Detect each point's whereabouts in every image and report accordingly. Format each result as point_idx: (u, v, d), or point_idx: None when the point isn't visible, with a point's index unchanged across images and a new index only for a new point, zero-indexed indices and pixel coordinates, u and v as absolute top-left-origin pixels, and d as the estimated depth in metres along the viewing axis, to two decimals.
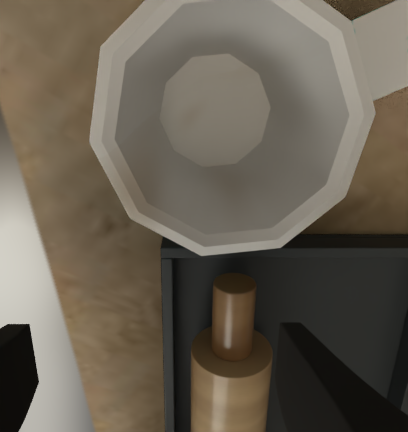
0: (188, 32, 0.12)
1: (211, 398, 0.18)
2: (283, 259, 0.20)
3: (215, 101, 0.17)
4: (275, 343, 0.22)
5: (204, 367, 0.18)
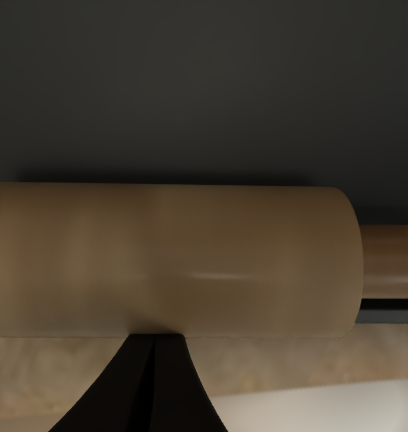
0: None
1: (36, 336, 0.10)
2: None
3: None
4: (53, 110, 0.11)
5: None
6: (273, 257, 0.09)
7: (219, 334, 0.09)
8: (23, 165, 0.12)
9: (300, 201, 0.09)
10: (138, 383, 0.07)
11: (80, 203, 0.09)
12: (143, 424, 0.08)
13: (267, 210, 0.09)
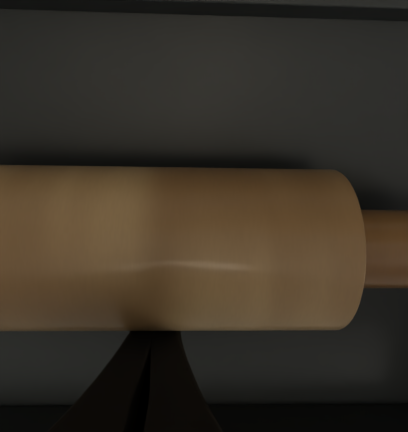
0: None
1: None
2: None
3: None
4: None
5: None
6: None
7: (212, 171, 0.09)
8: None
9: None
10: (137, 383, 0.07)
11: None
12: (142, 424, 0.08)
13: None
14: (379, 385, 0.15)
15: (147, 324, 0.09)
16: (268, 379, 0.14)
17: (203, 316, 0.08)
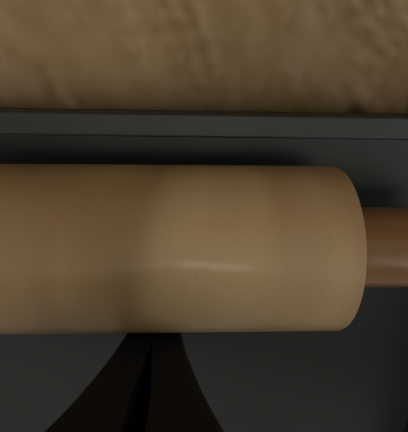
0: None
1: None
2: None
3: None
4: (69, 347, 0.13)
5: None
6: None
7: None
8: (43, 385, 0.14)
9: None
10: (135, 383, 0.07)
11: None
12: (140, 424, 0.08)
13: None
14: None
15: (138, 212, 0.08)
16: None
17: (199, 196, 0.08)
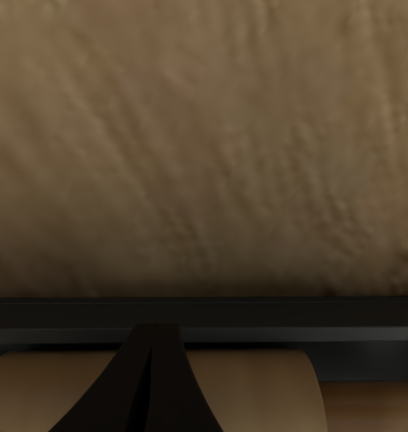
0: None
1: None
2: None
3: None
4: None
5: None
6: None
7: None
8: None
9: None
10: (138, 383, 0.07)
11: None
12: (143, 424, 0.08)
13: None
14: None
15: None
16: None
17: None
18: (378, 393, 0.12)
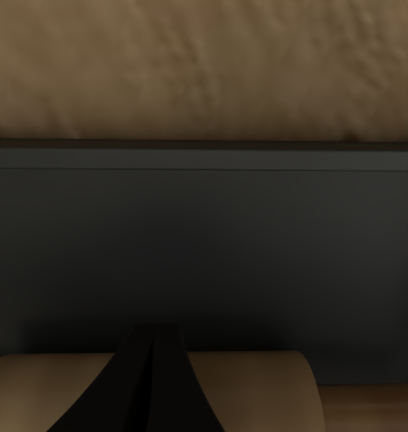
0: None
1: None
2: None
3: None
4: None
5: None
6: (239, 358, 0.12)
7: None
8: None
9: None
10: (136, 383, 0.07)
11: None
12: (141, 424, 0.08)
13: None
14: None
15: None
16: None
17: None
18: None
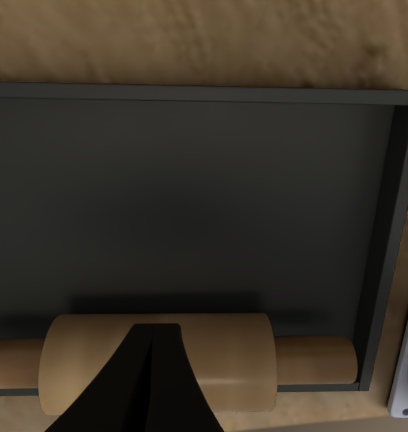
0: None
1: None
2: None
3: None
4: (99, 264, 0.18)
5: None
6: (225, 350, 0.16)
7: None
8: (79, 295, 0.18)
9: (241, 319, 0.17)
10: (135, 383, 0.07)
11: (119, 323, 0.16)
12: (140, 424, 0.08)
13: (222, 324, 0.16)
14: None
15: None
16: None
17: None
18: None
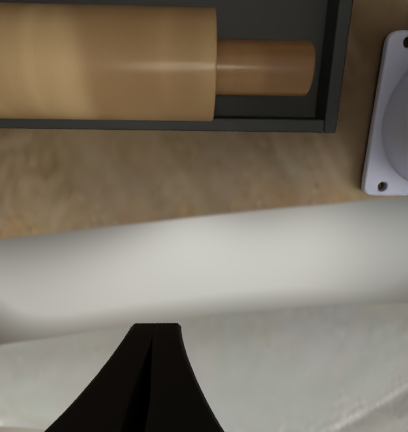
0: None
1: None
2: None
3: None
4: None
5: None
6: (157, 14, 0.13)
7: (124, 77, 0.13)
8: None
9: None
10: (135, 383, 0.07)
11: None
12: (140, 424, 0.08)
13: (158, 6, 0.14)
14: (287, 97, 0.18)
15: None
16: None
17: None
18: None
